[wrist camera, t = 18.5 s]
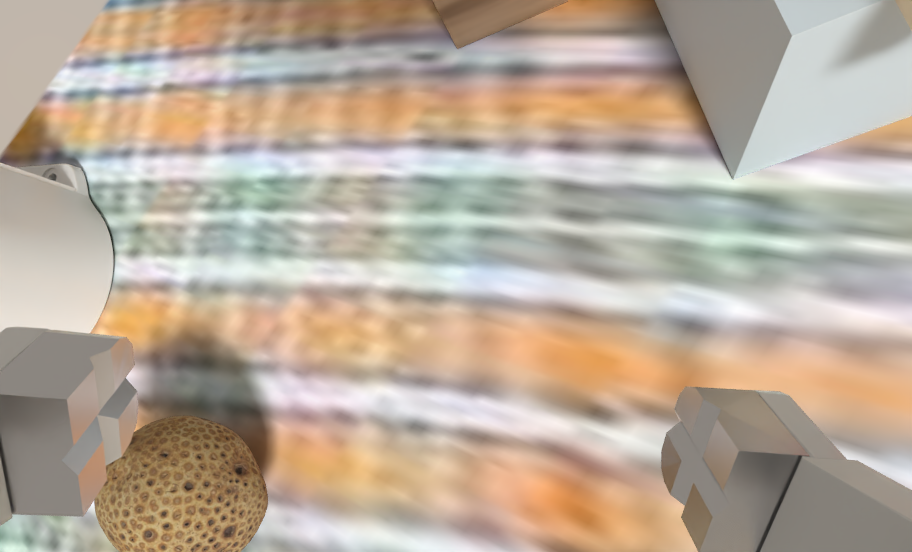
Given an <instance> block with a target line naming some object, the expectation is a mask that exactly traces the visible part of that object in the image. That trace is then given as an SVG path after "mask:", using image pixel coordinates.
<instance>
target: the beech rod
mask: <svg viewBox="0 0 912 552" xmlns="http://www.w3.org/2000/svg"><path fill="white" fill-rule="evenodd" d="M895 1H896V3H897V5H898V7H899V9H900V11H901V12H902V14H903V16H904V18H905V20H906V22H907V23H908V25H909V27H910V29H911V31H912V0H895Z"/></svg>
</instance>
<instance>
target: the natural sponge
mask: <svg viewBox="0 0 912 552" xmlns="http://www.w3.org/2000/svg"><path fill="white" fill-rule="evenodd" d="M106 474H107V481H106V482H105V484H104V485H103V487H102V489H101V490H100V492H99V493H98V495H97V496H96V498H95V499H94V501H95V511H96V516H97V519H98V521H99V524H100V526H101V528H102V529H103V531H104V533H105V534H106V536H107V538H108V539H109V541H110V542H111V543H112V544H113V546H114V547H115V548H116V549H117V550H118V551H119V552H240V551H241V550H242V549H243V548H244V547H245V546H246V545H247V544H248V543H249V542H250V541H251V539H252V538H253V536H254V535H255V533H256V532H257V530H258V528H259V526H260V524H261V522H262V520H263V518H264V516H265V513H266V510H267V505H268V496H267V490H266V484H265V481H264V479H263V476H262V474H261V471H260V469H259V467H258V465H257V463H256V460H255V458H254V456H253V455H252V453H251V451H250V449H249V447H248V446H247V444H246V443H245V442H244V441H243V439H242V438H241V437H240V436H239V435H237V434H236V433H235V432H234V431H232V430H231V429H229V428H227V427H225V426H223V425H220V424H218V423H215V422H212V421H209V420H206V419H202V418H198V417H194V416H173V417H169V418H165V419H161V420H158V421H155V422H153V423H150V424H148V425H145V426H143V427H142V428H140V429H139V430H137V431H136V432H134V433H133V436H132V439H131V442H130V444H129V446H128V447H127V449H126V451H125V452H124V454H123V456H122V457H121V458H119V459H117V460H115V461H113V462H112V463H110V464H108V465H106Z"/></svg>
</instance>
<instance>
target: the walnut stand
mask: <svg viewBox="0 0 912 552" xmlns="http://www.w3.org/2000/svg"><path fill="white" fill-rule="evenodd" d="M432 1H433V3H434V5H435V7H436V9H437V11H438V12H439V14H440V16H441V18H442V20H443V22H444V24H445V26H446V28H447V30H448V32H449V34H450V36H451V38H452V40H453V42H454V44H455V46H456V48H457V49H459V48H461V47H464V46H466V45H468V44H470V43H473V42H475V41H477V40H480V39H482V38H484V37H487V36H489V35H491V34H494V33H496V32H498V31H501V30H503V29H505V28H507V27H510V26H512V25H514V24H517V23H519V22H521V21H524V20H526V19H528V18H531V17H533V16H535V15H538V14H540V13H542V12H544V11H547V10H549V9H551V8H554V7H556V6H558V5H561V4H563V3H565V2H568V0H432Z"/></svg>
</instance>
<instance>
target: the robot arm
mask: <svg viewBox="0 0 912 552" xmlns="http://www.w3.org/2000/svg"><path fill="white" fill-rule="evenodd" d="M112 276H113V248H112V242H111V238H110V234H109V231H108V228H107V226H106V224H105V222H104V220H103V218H102V217H101V215H100V214H99V212H98V211H97V209H96V208H95V207H94V205H93V204H92V202H91V200H90V198H89V194H88V188H87V183H86V179H85V175H84V173H83V171H82V169H81V168H79V167H77V166H73V165H70V164H65V163H64V164H50V165H38V166H25V167H12V166H9V165H6V164H3V163H0V526H1V525H2V524H4V523H5V522H7V521H8V520H10V519H11V518H12V514H21V515H51V516H82V517H83V516H84V515H85V513H86V512H87V510H88V509H89V507H90V506H91V504H92V502H93V501H94V499H95V498H96V496H97V495H98V493H99V492H100V490H101V489H102V487H103V485H104V484H105V482H106V481H107V474H106V465H108V464H110V463H112V462H113V461H115V460H117V459H119V458H121V457H122V456H123V454H124V452H125V451H126V449H127V447H128V446H129V444H130V442H131V439H132V436H133V433H134V430H135V426H136V423H137V414H138V396H137V391H136V389H135V388H134V387H133V386H132V385H131V384H130V383H129V381H128V380H127V379H126V378H125V377H126V376H127V375H128V373H129V372H130V371H131V369H132V368H133V367H134V365H135V362H134V354H133V346H132V343H131V342H130V341H129V340H128V339H127V337H118V336H109V335H99V334H90V332H91V331H92V329H93V328H94V326H95V324H96V323H97V321H98V319H99V317H100V315H101V313H102V311H103V309H104V306H105V304H106V301H107V298H108V295H109V291H110V287H111V282H112ZM675 411H676V414H677V416H678V418H679V420H680V422H679V423H678V424H677V425H675V426H674V427H673V428H672V429H671V430H669V431H668V432H667V433H666V437H665V440H664V444H663V447H662V452H661V469H662V474H663V478H664V482H665V484H666V486H667V489H668V491H669V493H670V495H672V496H673V497H674V498H676V499H677V500H678V501H679V502H681V503H682V504H683V505H685V508H684V511H683V514H682V516H681V518H682V520H683V522H684V524H685V526H686V528H687V530H688V532H689V534H690V536H691V538H692V540H693V542H694V544H695V546H696V548H697V550H698V552H912V490H910V489H908V488H906V487H905V486H903V485H901V484H899V483H897V482H895V481H894V480H892V479H890V478H888V477H886V476H884V475H883V474H881V473H879V472H877V471H875V470H874V469H872V468H870V467H868V466H866V465H864V464H863V463H861V462H859V461H855V460H847V459H846V458H845V457H844V456H843V454H842V453H841V452H840V451H839V450H838V449H837V448H836V447H835V446H834V445H833V443H832V442H831V441H830V440H829V439H828V438H827V437H826V436H825V435H824V434H823V432H822V431H821V430H820V429H819V428H818V427H817V426H816V425H815V424H814V422H813V421H812V420H811V419H810V418H809V417H808V416H807V415H806V414H805V413H804V411H803V410H802V409H801V408H800V407H799V406H798V405H797V404H796V403H795V401H794V400H793V399H792V398H791V397H790V396H789V395H787V394H784V393H782V392H778V391H757V390H736V389H719V388H702V387H685V388H684V389H683V391H682V392H681V393H680V395H679V397H678V400H677V403H676V406H675Z"/></svg>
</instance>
